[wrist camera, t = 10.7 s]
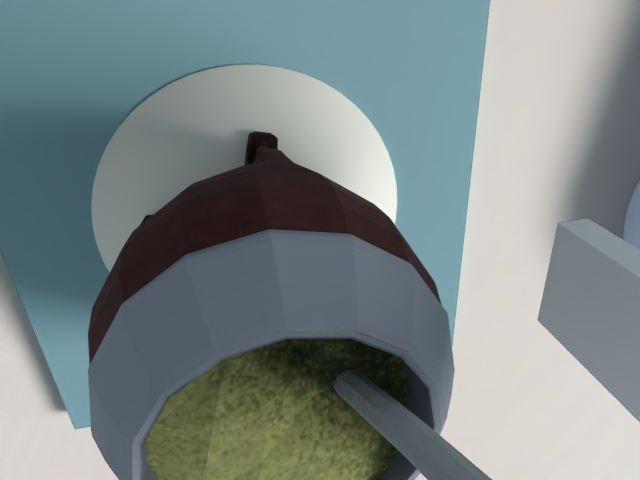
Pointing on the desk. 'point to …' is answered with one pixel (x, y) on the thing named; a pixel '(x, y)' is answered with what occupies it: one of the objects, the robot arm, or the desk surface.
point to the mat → (221, 129)
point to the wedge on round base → (633, 220)
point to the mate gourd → (271, 338)
